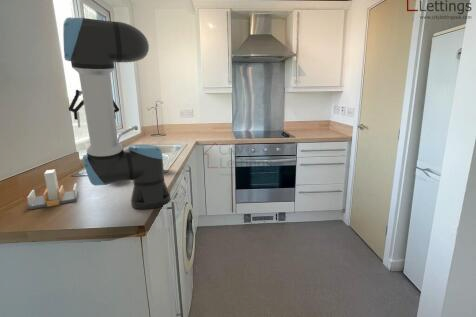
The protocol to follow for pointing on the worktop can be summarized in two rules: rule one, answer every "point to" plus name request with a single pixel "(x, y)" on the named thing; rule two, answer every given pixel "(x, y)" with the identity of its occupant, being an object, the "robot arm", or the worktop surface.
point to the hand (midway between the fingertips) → (96, 126)
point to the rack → (45, 202)
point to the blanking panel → (52, 184)
